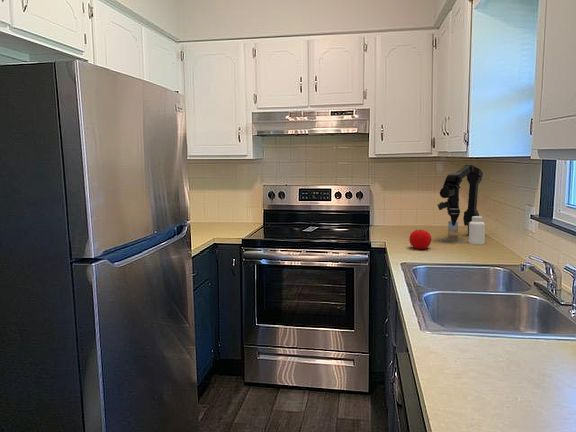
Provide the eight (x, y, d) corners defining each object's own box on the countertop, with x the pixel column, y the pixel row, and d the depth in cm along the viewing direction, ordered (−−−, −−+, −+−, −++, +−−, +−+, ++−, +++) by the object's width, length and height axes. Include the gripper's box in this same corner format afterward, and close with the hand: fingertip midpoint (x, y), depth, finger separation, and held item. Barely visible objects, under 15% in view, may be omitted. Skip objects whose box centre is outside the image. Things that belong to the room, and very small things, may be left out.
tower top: (448, 233, 265) (448, 227, 265) (457, 233, 264) (457, 227, 263) (448, 234, 260) (448, 228, 260) (457, 235, 259) (457, 228, 259)
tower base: (447, 239, 266) (448, 233, 265) (457, 239, 264) (457, 233, 264) (448, 241, 261) (448, 234, 260) (457, 241, 259) (457, 235, 259)
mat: (440, 239, 270) (440, 238, 270) (462, 240, 266) (462, 239, 266) (440, 242, 259) (440, 241, 259) (463, 243, 256) (463, 242, 256)
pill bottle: (483, 242, 256) (484, 215, 255) (485, 245, 249) (486, 217, 247) (467, 242, 258) (468, 215, 257) (469, 245, 251) (470, 217, 249)
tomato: (417, 251, 237) (417, 231, 236) (404, 247, 249) (404, 228, 248) (436, 249, 240) (436, 230, 239) (423, 245, 252) (423, 227, 251)
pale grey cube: (448, 227, 265) (448, 221, 264) (457, 227, 263) (457, 221, 263) (448, 228, 260) (448, 222, 260) (457, 228, 258) (457, 222, 258)
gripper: (438, 195, 271) (437, 222, 273) (438, 198, 253) (438, 226, 255) (458, 195, 267) (458, 222, 269) (460, 198, 250) (459, 227, 252)
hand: (453, 224), depth 261 cm, fingers open, 9 cm apart
